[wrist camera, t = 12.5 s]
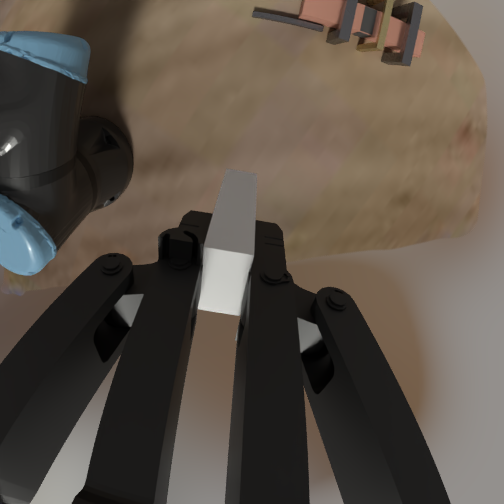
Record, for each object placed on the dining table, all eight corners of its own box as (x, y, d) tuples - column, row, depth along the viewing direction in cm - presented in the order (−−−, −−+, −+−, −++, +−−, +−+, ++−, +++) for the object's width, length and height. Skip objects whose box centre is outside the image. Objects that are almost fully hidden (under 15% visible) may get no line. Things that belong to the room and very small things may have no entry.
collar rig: (250, 25, 28) (248, 15, 22) (263, -31, 23) (264, -50, 17) (388, 64, 30) (413, 66, 24) (400, 11, 24) (426, 5, 18)
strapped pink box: (297, 19, 28) (301, 14, 24) (303, -6, 25) (308, -14, 22) (406, 57, 29) (420, 58, 26) (411, 33, 26) (425, 32, 23)
